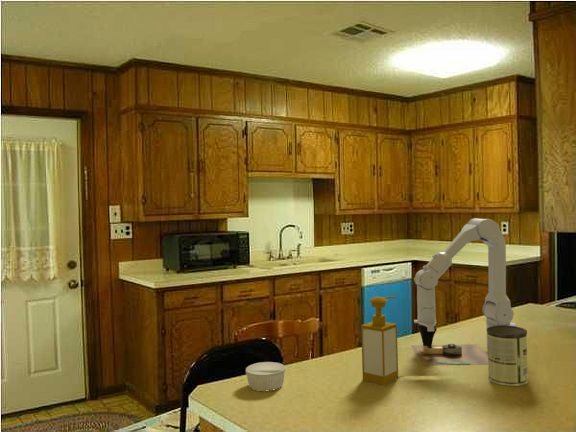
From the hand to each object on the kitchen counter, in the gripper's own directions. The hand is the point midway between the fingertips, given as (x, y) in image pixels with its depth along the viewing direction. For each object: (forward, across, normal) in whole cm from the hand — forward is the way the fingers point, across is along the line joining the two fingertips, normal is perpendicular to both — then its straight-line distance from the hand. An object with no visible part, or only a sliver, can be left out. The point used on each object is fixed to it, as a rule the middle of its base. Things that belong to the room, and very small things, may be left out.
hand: (427, 348), depth 176 cm
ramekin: (+2, +29, -50) cm, 58 cm away
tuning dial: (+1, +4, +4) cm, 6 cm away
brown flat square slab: (+2, +4, +7) cm, 8 cm away
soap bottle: (+2, +22, -16) cm, 27 cm away
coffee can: (+2, +26, +17) cm, 31 cm away
